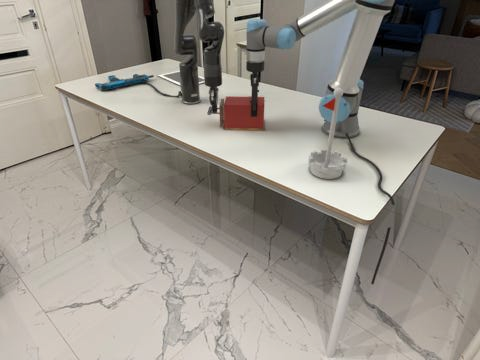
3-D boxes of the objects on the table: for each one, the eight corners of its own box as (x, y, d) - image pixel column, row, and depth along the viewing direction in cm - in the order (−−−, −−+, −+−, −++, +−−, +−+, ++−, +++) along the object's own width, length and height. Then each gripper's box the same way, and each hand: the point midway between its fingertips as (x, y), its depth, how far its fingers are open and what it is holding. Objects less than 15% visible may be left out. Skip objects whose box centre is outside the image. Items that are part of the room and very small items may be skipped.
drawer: (207, 126, 152) (206, 106, 146) (210, 118, 160) (209, 98, 154) (256, 127, 151) (256, 106, 145) (256, 118, 159) (256, 99, 153)
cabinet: (224, 129, 151) (223, 104, 145) (226, 119, 160) (226, 96, 154) (263, 130, 151) (264, 105, 144) (263, 120, 160) (264, 96, 153)
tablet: (157, 75, 220) (157, 75, 220) (183, 70, 231) (183, 69, 231) (184, 87, 200) (184, 87, 200) (212, 80, 211) (212, 80, 211)
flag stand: (330, 158, 128) (344, 79, 112) (352, 176, 118) (370, 92, 102) (300, 165, 124) (309, 84, 108) (320, 183, 114) (333, 97, 98)
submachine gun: (139, 68, 225) (158, 74, 208) (140, 74, 226) (158, 80, 210) (87, 78, 206) (103, 86, 189) (89, 84, 208) (104, 92, 191)
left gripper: (206, 69, 149) (208, 107, 158) (201, 78, 138) (204, 118, 147) (223, 69, 149) (224, 107, 158) (220, 78, 138) (221, 118, 147)
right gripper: (247, 54, 149) (246, 102, 162) (245, 68, 130) (244, 121, 142) (264, 54, 149) (262, 102, 161) (264, 68, 130) (262, 122, 142)
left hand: (214, 112), depth 153 cm, fingers closed
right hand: (254, 111), depth 152 cm, fingers closed on cabinet, 11 cm apart
